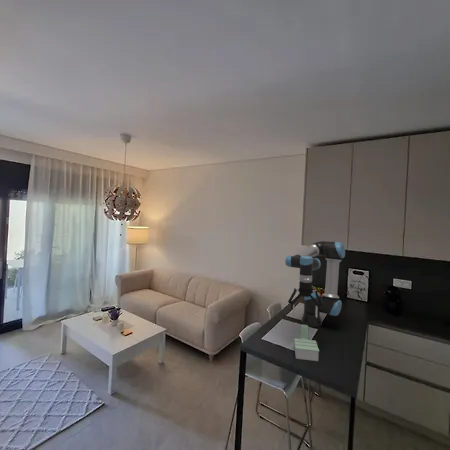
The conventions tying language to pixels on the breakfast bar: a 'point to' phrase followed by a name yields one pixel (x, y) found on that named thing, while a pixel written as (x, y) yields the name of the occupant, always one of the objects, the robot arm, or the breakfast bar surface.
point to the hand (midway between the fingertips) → (304, 315)
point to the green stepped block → (305, 341)
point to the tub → (306, 355)
